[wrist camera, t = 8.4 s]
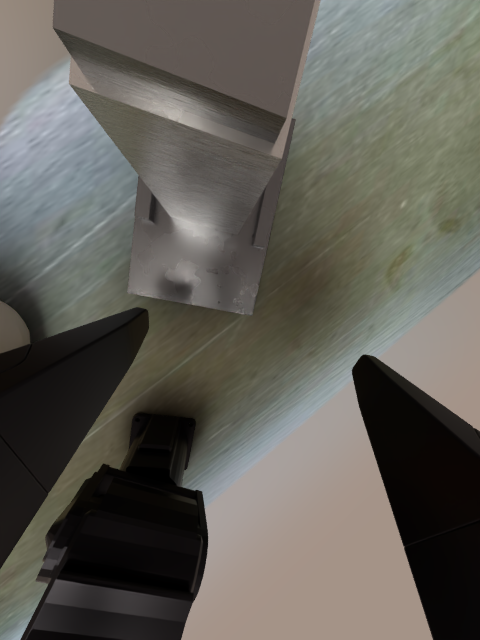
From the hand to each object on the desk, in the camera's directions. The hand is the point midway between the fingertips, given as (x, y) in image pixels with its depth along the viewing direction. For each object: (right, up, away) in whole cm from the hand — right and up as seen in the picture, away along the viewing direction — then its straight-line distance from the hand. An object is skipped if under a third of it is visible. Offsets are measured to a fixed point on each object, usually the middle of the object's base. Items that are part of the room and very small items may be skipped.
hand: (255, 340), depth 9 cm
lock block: (-3, +11, +8) cm, 14 cm away
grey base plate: (-4, +10, +10) cm, 15 cm away
